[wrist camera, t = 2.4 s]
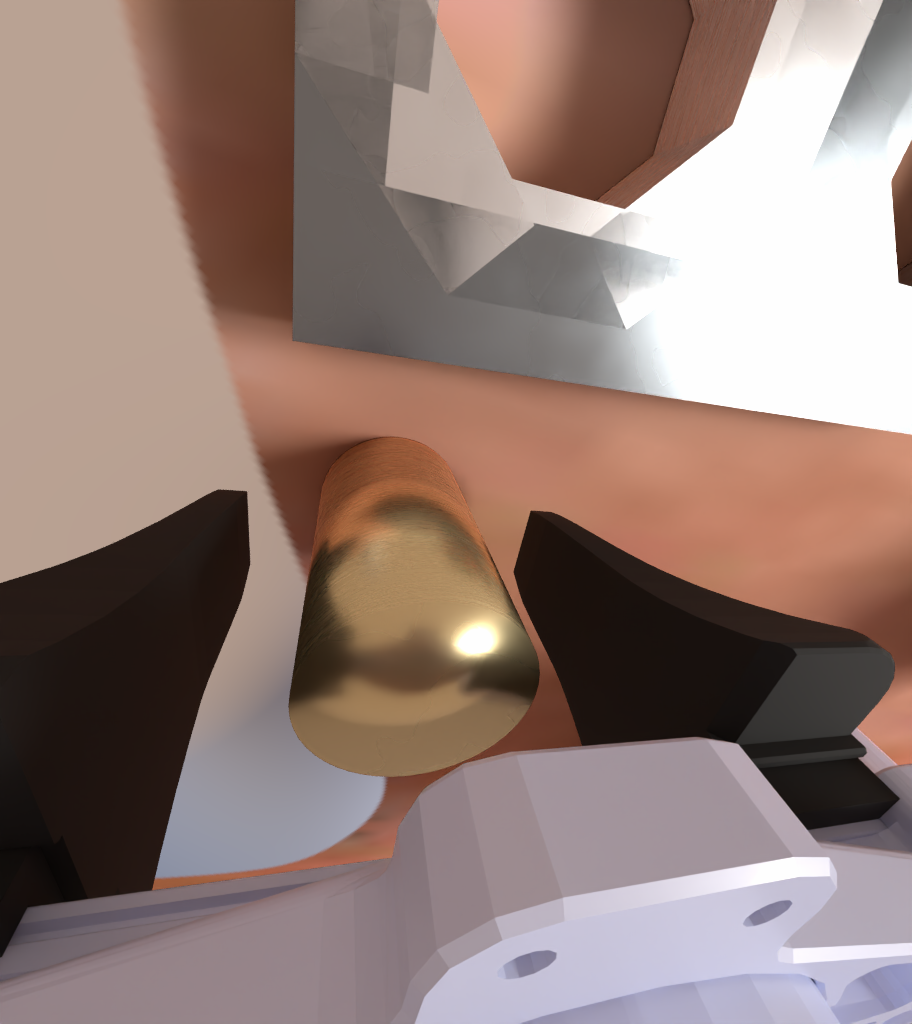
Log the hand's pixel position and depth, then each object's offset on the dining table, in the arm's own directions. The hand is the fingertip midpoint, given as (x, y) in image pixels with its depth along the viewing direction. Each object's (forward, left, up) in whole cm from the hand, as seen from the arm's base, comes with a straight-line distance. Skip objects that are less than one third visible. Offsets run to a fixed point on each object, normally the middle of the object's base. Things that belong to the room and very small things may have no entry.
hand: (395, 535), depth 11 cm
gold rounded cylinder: (0, 0, -2) cm, 2 cm away
